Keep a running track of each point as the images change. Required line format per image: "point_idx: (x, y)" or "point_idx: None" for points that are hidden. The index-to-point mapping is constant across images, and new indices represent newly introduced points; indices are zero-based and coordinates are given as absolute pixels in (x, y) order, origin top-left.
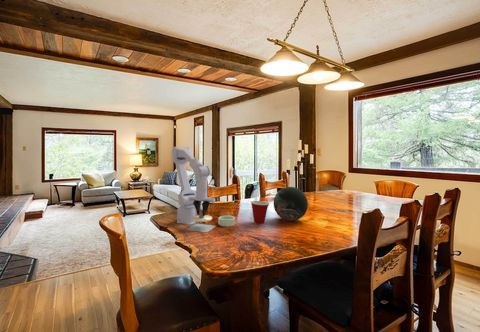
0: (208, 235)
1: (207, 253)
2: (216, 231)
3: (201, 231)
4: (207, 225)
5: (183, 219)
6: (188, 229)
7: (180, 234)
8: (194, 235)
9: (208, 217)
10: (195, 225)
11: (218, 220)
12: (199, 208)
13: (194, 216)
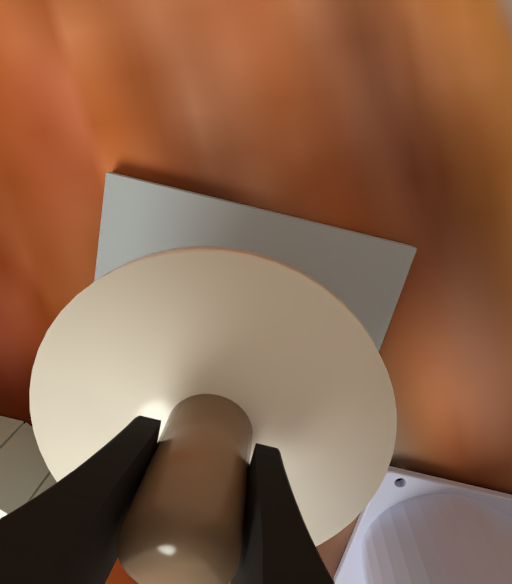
0: (65, 72)
1: None
2: (24, 253)
3: (187, 191)
4: None
5: (510, 542)
6: (379, 260)
7: (457, 66)
8: (250, 45)
9: (96, 443)
10: None
11: None
12: None
13: (346, 486)
